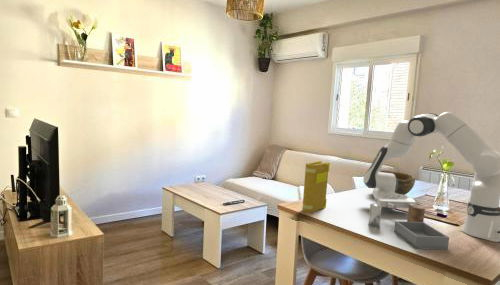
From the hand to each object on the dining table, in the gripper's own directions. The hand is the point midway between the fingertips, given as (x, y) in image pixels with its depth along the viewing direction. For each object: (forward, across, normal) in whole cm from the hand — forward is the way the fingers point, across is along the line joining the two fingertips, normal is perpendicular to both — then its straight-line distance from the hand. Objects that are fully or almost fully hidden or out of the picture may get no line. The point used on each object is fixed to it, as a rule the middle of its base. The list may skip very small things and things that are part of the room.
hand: (403, 207), depth 168 cm
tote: (+28, -7, +6) cm, 29 cm away
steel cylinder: (+12, -20, +6) cm, 24 cm away
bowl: (-45, +15, +6) cm, 48 cm away
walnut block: (+12, 0, +6) cm, 13 cm away
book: (-10, -44, +6) cm, 46 cm away
